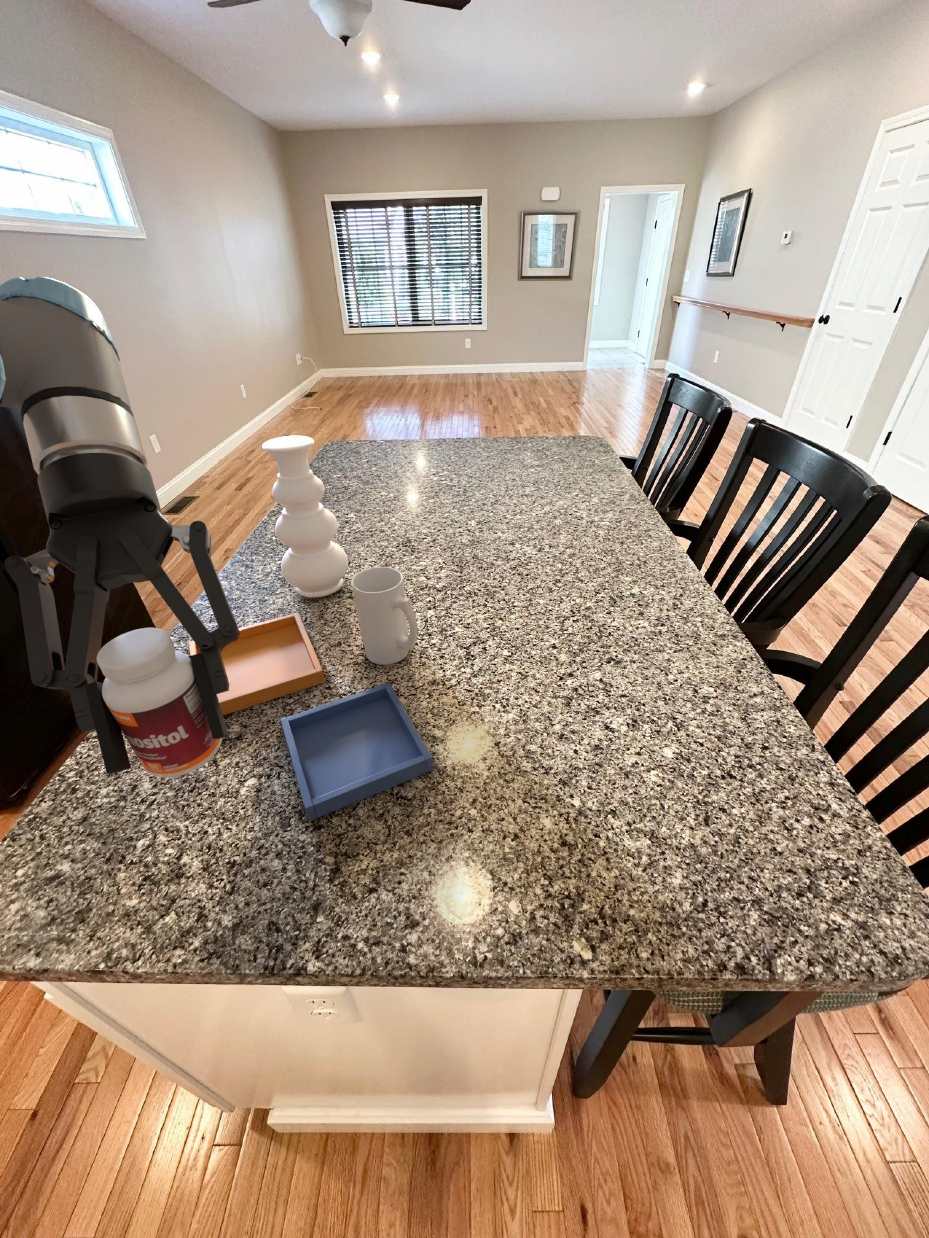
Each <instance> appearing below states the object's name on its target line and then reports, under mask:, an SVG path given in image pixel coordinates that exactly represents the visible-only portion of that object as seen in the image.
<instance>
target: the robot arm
mask: <svg viewBox="0 0 929 1238" xmlns="http://www.w3.org/2000/svg"><path fill="white" fill-rule="evenodd" d="M120 360H121V359H120V354H119V350H118V348H117V347H116V345H115V343H114V340H113V336H112V334H111V331H110V328H109V326H108V324H107V322H106V320H105V317H104V315H103V314H102V312H101V310H100V308H99V307H98V306H97V305H96V304H95V302H94V301H93V300H92V299H91V298H90V297H88V295H86V294H85V293H83V292H82V291H81V290H79V289H77V288H75V287H74V286H72V285H70V284H68V283H65V282H63V281H60V280H58V279H55V278H50V277H46V276H40V275H39V276H36V277H35V278H23V277H22V276H20V277H19V276H18V277H17V276H16V277H13V278H10V279H7V280H6V281H4V282H3V283H2V284H0V407H2V408H10V409H11V408H12V409H17V410H18V411H19V413H20V417H21V421H22V425H23V429H24V433H25V437H26V441H27V445H28V449H29V454H30V457H31V461H32V466H33V470H34V471H35V473H36V474H37V479H36V481H37V485H38V488H39V493H40V496H41V500H42V504H43V509H44V512H45V516H46V520H47V523H48V526H49V536H48V539H47V541H46V545H45V547H46V548H45V549H42V550H40V551H37V552H35V553H33V554H31V555H28V556H26V557H22V556H20V555H10V556H8V557H7V558H6V559H5V560H4V568H5V570H6V571H7V573H8V574H9V575H10V577H11V578H12V580H13V582H14V583H15V584H16V586H17V591H18V597H19V604H20V611H21V617H22V625H23V631H24V640H25V645H26V646H25V647H26V651H27V652H26V653H27V659H28V667H29V674H30V679H31V682H32V684H33V685H34V686H36V687H40V688H45V689H50V690H66V691H67V692H68V693H69V697H70V701H71V705H72V709H73V713H74V717H75V721H76V724H77V727H78V728H79V730H80V731H81V732H82V733H94V732H95V733H96V736H97V740H98V744H99V749H100V752H101V756H102V760H103V764H104V768H105V772H106V775H109V774H116V773H122V772H125V771H127V770H130V769H132V765H131V762H130V759H129V753H128V750H127V746H126V743H125V740H124V734H123V732H122V730H121V729H120V727H119V725H118V723H117V722H116V720H115V718H114V717H113V715H112V713H111V712H110V710H109V708H108V707H107V705H106V703H105V701H104V699H103V696H102V685H103V682H99V681H97V680H98V673H99V665H98V663H97V654H98V652H99V651H100V650H101V648H102V640H103V634H104V633H103V632H104V623H105V616H106V608H107V607H106V606H107V603H108V602H109V601H110V595H111V590H113V589H118V588H120V587H122V586H124V585H127V584H129V583H130V584H131V583H134V584H135V583H137V584H138V583H139V584H140V583H144V582H150V583H151V584H152V586H153V587H154V589H155V590H156V591H157V593H158V594H159V596H160V597H161V598H162V600H163V601H164V602H165V603H166V605H167V606H168V608H170V610H171V612H172V614H174V616H175V617H176V618H177V620H178V622H179V623H180V624H181V625H182V627H183V628H184V629H185V631H186V632H187V634H188V635H189V637H190V638H191V639H192V641H194V642H195V643H196V644H197V646H198V647H199V649H200V652H201V653H198V654H195V655H191V656H190V655H189V658H190V660H191V663H192V667H193V670H194V674H195V677H196V681H197V684H198V688H199V691H200V695H201V698H202V702H203V705H204V709H205V713H206V716H207V720H208V723H209V727H210V730H211V734H212V737H213V739H220V738H222V739H223V738H226V737H229V732H228V728H227V725H226V721H225V718H224V715H223V714H222V711H221V707H220V704H219V700H218V697H217V694H219V693H222V692H226V691H229V681H228V677H227V674H226V670H225V667H224V663H223V660H222V656H221V652H222V649H223V648H224V647H225V646H226V645H228V644H229V643H231V642H233V641H236V640H238V638H239V637H240V631H239V629H238V628H239V626H238V624H237V621H236V619H235V616H234V614H233V611H232V608H231V606H230V603H229V601H228V599H227V596H226V593H225V591H224V588H223V585H222V583H221V580H220V578H219V575H218V573H217V570H216V568H215V566H214V562H213V560H212V536H211V534H210V531H209V530H208V527H207V525H206V524H205V522H203V521H202V520H194V521H192V522H191V523H190V525H187V524H186V525H184V524H182V525H181V524H172V523H171V522H170V520H168V519H167V518H166V517H165V515H164V514H163V511H162V508H161V505H160V501H159V497H158V495H157V491H156V486H155V483H154V481H153V477H152V474H151V471H150V469H148V464H149V463H148V462H149V461H148V459H147V455H146V452H145V448H144V445H143V442H142V438H141V435H140V431H139V429H138V425H137V422H136V419H135V416H134V413H133V410H132V406H131V401H130V398H129V394H128V390H127V387H126V383H125V379H124V375H123V372H122V367H121V364H120V363H121V362H120ZM174 541H175V542H178V543H179V545H180V547H181V549H182V550H183V551H184V552H185V553H188V554H190V556H191V560H192V562H193V564H194V567H195V570H196V572H197V574H198V577H199V580H200V583H201V585H202V587H203V590H204V593H205V595H206V597H207V600H208V602H209V606H210V608H211V611H212V613H213V616H214V618H215V622H216V624H217V626H218V627H217V628H215V629H214V630H212V631H211V632H210V631H209V629H208V628H207V627H206V626H205V624H204V623H203V621H202V620H201V618H200V617H199V616H198V615H197V613H196V612H195V610H194V609H193V608H192V606H191V605H190V604H189V602H188V601H187V599H186V598H185V597H184V596H183V594H182V593H181V592H180V590H179V589H178V587H177V586H176V584H175V583H174V582H173V580H172V579H171V578H170V576H169V574H168V573H167V572H166V571H165V569H164V568H163V566H162V565H163V563H164V561H165V559H166V557H167V555H168V553H169V551H170V548H172V545H173V544H174ZM59 564H60V565H62V566H63V567H64V568H66V569H68V570H69V571H70V572H72V573H73V574H74V579H73V587H72V588H73V593H74V601H73V609H72V616H71V621H70V622H71V623H70V629H69V630H70V631H69V637H68V645H67V646H68V647H67V652H66V661H65V660H64V653H63V647H62V640H61V634H60V627H59V622H58V614H57V607H56V602H55V601H56V600H55V597H54V596H55V595H54V592H53V589H52V587H51V585H50V583H53V582H54V580H55V573H54V569H55V567H56V566H57V565H59Z"/></svg>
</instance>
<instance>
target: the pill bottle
mask: <svg viewBox="0 0 929 1238" xmlns="http://www.w3.org/2000/svg"><path fill="white" fill-rule="evenodd" d="M97 663H98V668H100V671H101V673H102V675H103V676H104V677H105V678H104V680H103V681H102V683H103V685H102V696H103V699H104V701H105V703H106V705H107V707H108V708H109V710H110V712H111V713H112V715H113V717H114V718H115V720H116V722H117V723H118V725H119V727H120V729H121V731H122V735H123V736H125V739H126V741H127V743H128V744H129V746H130V748H131V749H132V751H133V752H134V755H135V756H136V758H137V760H138V761H139V763H140V765H141V766H142V768H143V769H144V771H146V773H148V774H150V775H151V776H153V777H157V778H165V779H168V778H176V777H181V776H183V775H187V774H190V773H192V772H194V771H197V770H198V769H200V768H201V767H203V766H204V765H206V764H207V763H208V762H210V760H212V759H213V758H214V756H215V755H216V754H217V752H218V750H219V749H220V747H221V744H222V741H223V738H220V739H213V737H212V734H211V730H210V727H209V723H208V720H207V716H206V713H205V709H204V705H203V702H202V698H201V695H200V691H199V688H198V684H197V681H196V677H195V674H194V670H193V667H192V663H191V660H190V656H188V655H187V654H186V653H184V652H181V651H180V650H176V647H175V644H174V642H173V640H172V639H171V636H170V634H169V633H168V632H167V630H164V629H161V628H157V627H144V628H143V627H142V628H138V629H133V630H130V631H127V632H125V633H122V634H120V635H118V636H116V637H114V638H113V639H111V640H110V641H108V642H107V643H105V644H104V645H103V646H101V649H100V651H99V652H98V654H97Z"/></svg>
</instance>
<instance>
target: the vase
mask: <svg viewBox="0 0 929 1238" xmlns="http://www.w3.org/2000/svg"><path fill="white" fill-rule="evenodd" d="M314 444H315V440H314V438H312V437H310V436H306V435H287V436H279V437H275V438H271V439H269V440H266V441H265V442H263V444H262V445H261V448H262V450H263V451H264V452H265V453H266V454H267V455H269V456H270V457H271V458H272V459H273V460H274V461H275V463H276V467H277V470H278V471H277V472H278V473H277V476H276V477H277V480H276V481H275V482H274V484H273V487H272V488H271V489H272V490H271V494H272V497H273V499H274V500H275V501H276V503H278V504H279V505H281V507H283V508H282V511H281V515H280V516H279V517H278V518H277V520H276V522H275V525H274V533H275V536H276V538H277V540H278V541H279V542H280V543H281V544H282V545H284V546H285V547H287V548H288V549H287V551H285V553H284V555H283V556H282V559H281V563H280V570H281V573H282V576H283V578H284V580H286V582H287V583H288V584H290V585H291V586H293V587H294V590H295V592H296V594H298V595H300V596H302V597H306V598H321V597H326V596H329V595H332V594H335V593H336V592H337V591H339V590H340V589H341V588H342V587H343V585H344V577H345V575H346V574H347V571H348V568H349V559H348V555H347V553H346V551H345V550H344V549H343V548H342V547H341V546H340V545H339V544H337V543H336V542H334V541H332V540H334V538H335V537H336V535H337V533H338V531H339V530H338V529H339V524H338V523H339V522H338V520H337V518H336V516H335V514H334V513H333V512H331V511H330V510H329V509H327V508H326V507H324V505H323V504H322V503H321V502H320V501H321V500H322V499H323V497H324V495H325V491H326V489H325V485H324V483H323V481H322V480H321V479H320V478H319V477H317V476H316V475H315V474H314V472H313V470H312V469H311V468H310V465H309V455H310V452H311V450H312V448H313V446H314Z"/></svg>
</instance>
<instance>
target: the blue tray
mask: <svg viewBox="0 0 929 1238" xmlns="http://www.w3.org/2000/svg"><path fill="white" fill-rule="evenodd" d="M280 723H281V727H282V730H283V734H284V737H285V741H286V745H287V748H288V752H289V756H290V759H291V764H292V767H293V770H294V775H295V777H296V781H297V784H298V788H299V792H300V796H301V799H302V801H303V802H302V803H303V805H304V806H303V807H304V810H305V814H306V815H307V818H308V821H309V822H311V821H313V820H316V819H318V818H321V817H323V816H326V815H329V814H331V813H333V812H335V811H338V810H340V809H343V808H345V807H347V806H348V807H349V805H353V804H355V803H357V802H360V801H362V800H365V799H367V798H369V797H371V796H374V795H377V794H378V793H379V794H380V793H381V792H383V791H386V790H389V789H391V788H393V787H396V786H399V785H401V784H403V783H406V782H407V781H409V780H412V779H415V778H417V777H420V776H422V775H424V774H427V773H429V772H431V771H433V770H434V762H433V756H432V754H431V752H430V751H429V749H428V748H427V746H426V743H425V742H424V741H423V739H422V737H421V735H420V733H419V732H418V730H417V728H416V727H415V725H414V723H413V721H412V719H411V718H410V716H409V715H408V712H407V711H406V709H405V707H404V705H403V703H402V702H401V700H400V698H399V696H398V695H397V693H396V690H395V689H394V688H393V686H392V684H391V682H386V683H384V684H380V685H378V686H375V687H372V688H369V689H366V690H363V691H360V692H357V693H354V694H351V695H348V696H345V697H343V698H339V699H335V700H333V701H330V702H327V703H324V704H322V705H318V706H315V707H313V708H310V709H307V710H304V711H302V712H298V713H296V714H292V715H290V716H287V717H284V718H280Z"/></svg>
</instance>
